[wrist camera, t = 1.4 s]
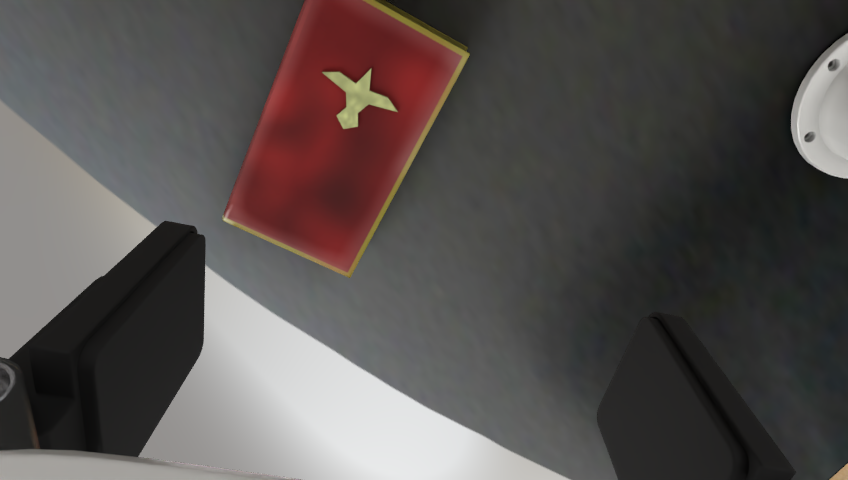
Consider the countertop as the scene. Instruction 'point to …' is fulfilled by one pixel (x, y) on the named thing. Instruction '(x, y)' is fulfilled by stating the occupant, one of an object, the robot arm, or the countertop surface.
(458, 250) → the countertop surface
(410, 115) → the hardcover book
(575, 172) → the countertop surface
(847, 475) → the architectural model
